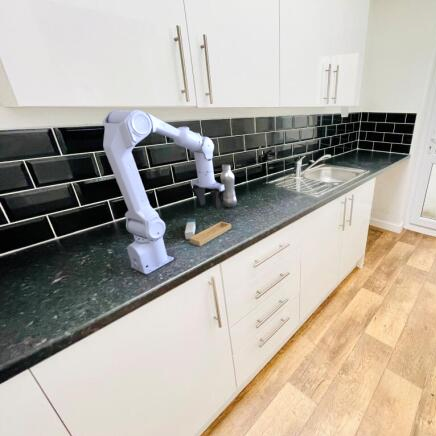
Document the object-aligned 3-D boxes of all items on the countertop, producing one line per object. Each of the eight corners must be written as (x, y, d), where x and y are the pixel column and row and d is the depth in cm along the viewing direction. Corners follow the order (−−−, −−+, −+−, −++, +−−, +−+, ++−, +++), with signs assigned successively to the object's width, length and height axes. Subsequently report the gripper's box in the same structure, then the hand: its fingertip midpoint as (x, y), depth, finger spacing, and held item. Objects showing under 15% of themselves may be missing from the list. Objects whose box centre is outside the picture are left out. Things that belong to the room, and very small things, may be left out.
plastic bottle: (225, 209, 120) (219, 167, 112) (222, 205, 126) (217, 164, 117) (238, 207, 122) (234, 166, 114) (236, 203, 128) (232, 163, 120)
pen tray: (200, 246, 89) (199, 241, 88) (189, 242, 92) (189, 238, 91) (231, 228, 102) (231, 223, 101) (222, 225, 104) (221, 221, 104)
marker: (194, 238, 94) (192, 231, 93) (185, 239, 94) (184, 232, 93) (196, 225, 105) (195, 218, 104) (188, 225, 104) (187, 219, 103)
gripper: (228, 170, 93) (232, 205, 98) (198, 166, 98) (203, 200, 104) (215, 175, 87) (219, 212, 92) (183, 170, 93) (190, 205, 98)
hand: (210, 206), depth 98 cm, fingers open, 7 cm apart
